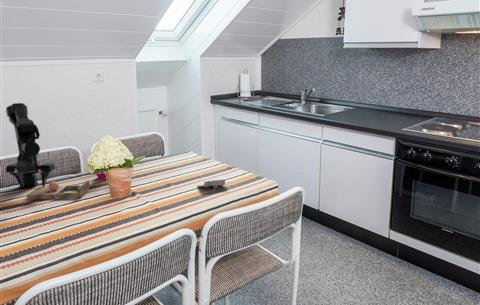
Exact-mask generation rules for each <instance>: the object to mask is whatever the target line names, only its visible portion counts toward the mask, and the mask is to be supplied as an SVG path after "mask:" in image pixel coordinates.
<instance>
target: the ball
mask: <svg viewBox="0 0 480 305" xmlns="http://www.w3.org/2000/svg"><path fill="white" fill-rule="evenodd" d="M48 187H49V189H50V190H53V191H55V190H57V189H58V187H60V184H59V183H58V182H57V181H51V182H50V183H49V184H48Z"/></svg>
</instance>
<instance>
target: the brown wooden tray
mask: <svg viewBox="0 0 480 305" xmlns="http://www.w3.org/2000/svg"><path fill="white" fill-rule="evenodd" d="M90 190H91V188H90V180H86V181H85V182H84V183H82V184H81V185H79V184H78V185H76V184H75V185H65V186H59V187H58V189H57V190H55V191H53V190H50V189H49V186H44V187H43V186H39V187H37V188H35V189H34V190H32V191H30V192H29V193H27V194H26V199H27V200H63V199H64V200H65V199H67V200H72V199H74V200H76V199H82V198H83V197H84V196H86V195H87V194H88V192H90Z"/></svg>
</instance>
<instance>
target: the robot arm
mask: <svg viewBox="0 0 480 305" xmlns="http://www.w3.org/2000/svg"><path fill="white" fill-rule="evenodd" d="M5 113H6V117H8V121H9V122H10V123H11V124H12V125H13V127H14V132H15V133H14V134H15V137H16V138H15V139H16V143H17V148H18V149H17V150H18V156H17V158H16V162H15V163H10V164H8V165H7V166H5V173H6V174H7V173H9V174H10V175H12V176H14V177H15V179H16V180H17V182H18V184H19V186H17V188H18V189H32V188H34V187H36V186H37V185H39V183H38V176H37V175H36V174H38V173H39V174H40V176H41V187H46V182H47V180H48V177H49V175H50V173H51V172H53V171H54V170H56V165H55V164H54V162H45V163H43V164H40V161H38V156H39V153H40V150H41V147H40V145H39V144H38V143H37V142H36V140H40V136H41V135H40V132H39V127H37V125H36V124H35V122H34V121H33V120H32V119H30V118H29V117H28V115H29V110H28V106H27V105H25V103H24V102H18V103H15V102H14V103H11V105H9V106H7V107H6V108H5ZM39 170H40V171H41V172H39Z"/></svg>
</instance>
